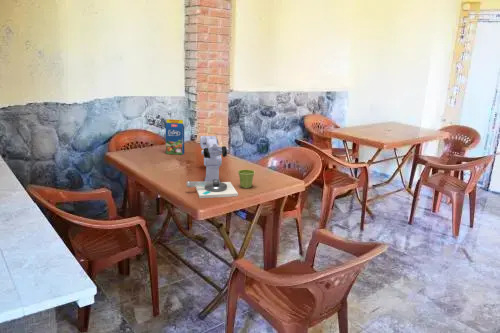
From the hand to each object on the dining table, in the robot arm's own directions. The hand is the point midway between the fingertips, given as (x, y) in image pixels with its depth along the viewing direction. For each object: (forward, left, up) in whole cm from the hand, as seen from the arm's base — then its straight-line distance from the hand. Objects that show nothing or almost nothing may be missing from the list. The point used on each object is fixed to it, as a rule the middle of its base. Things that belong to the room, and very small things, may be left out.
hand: (216, 155), depth 212 cm
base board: (-3, 0, -20) cm, 20 cm away
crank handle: (-3, -5, -18) cm, 19 cm away
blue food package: (-90, -15, -20) cm, 93 cm away
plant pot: (-8, +18, -20) cm, 28 cm away
